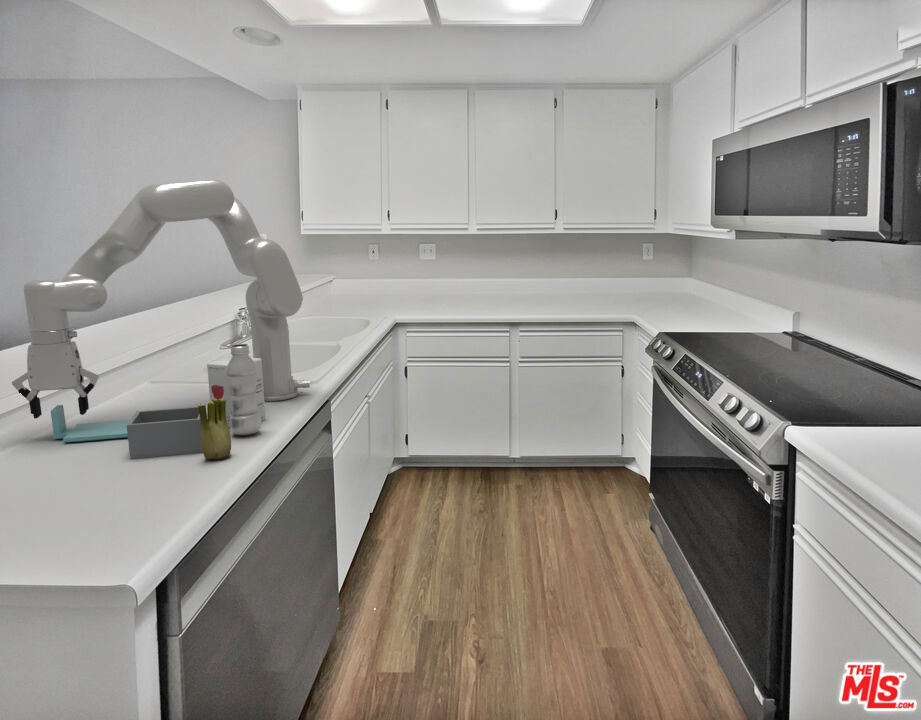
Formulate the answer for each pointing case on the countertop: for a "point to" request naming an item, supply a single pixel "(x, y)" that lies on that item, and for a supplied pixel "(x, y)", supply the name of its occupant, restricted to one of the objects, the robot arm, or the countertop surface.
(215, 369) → the supplement box
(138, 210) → the robot arm
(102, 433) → the lid
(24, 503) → the countertop surface
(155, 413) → the tub
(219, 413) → the fennel bulb
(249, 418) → the plastic bottle
